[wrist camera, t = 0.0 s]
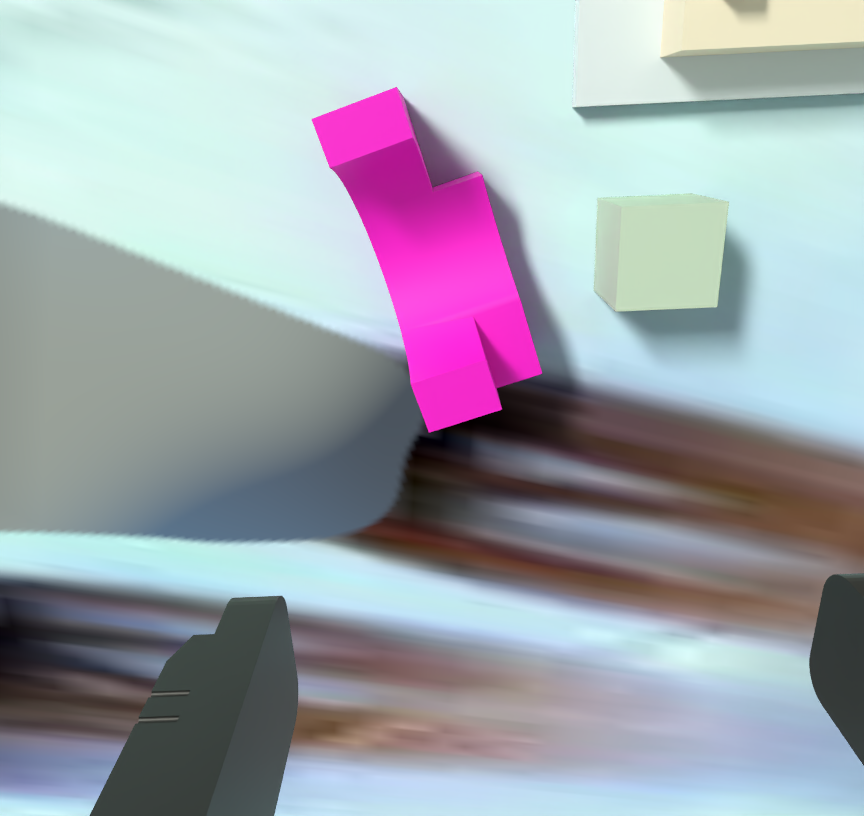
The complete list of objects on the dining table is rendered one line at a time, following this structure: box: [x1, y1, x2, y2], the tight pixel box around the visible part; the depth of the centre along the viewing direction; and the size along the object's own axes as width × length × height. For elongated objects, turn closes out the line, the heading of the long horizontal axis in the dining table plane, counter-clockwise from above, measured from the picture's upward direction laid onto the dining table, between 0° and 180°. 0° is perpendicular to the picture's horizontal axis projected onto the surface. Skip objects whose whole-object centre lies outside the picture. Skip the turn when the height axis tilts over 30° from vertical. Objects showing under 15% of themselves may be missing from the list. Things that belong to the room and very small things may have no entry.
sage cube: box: [594, 193, 729, 312], centre depth 35 cm, size 5×5×5 cm
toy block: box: [312, 87, 542, 432], centre depth 34 cm, size 15×6×8 cm, turn 19°
